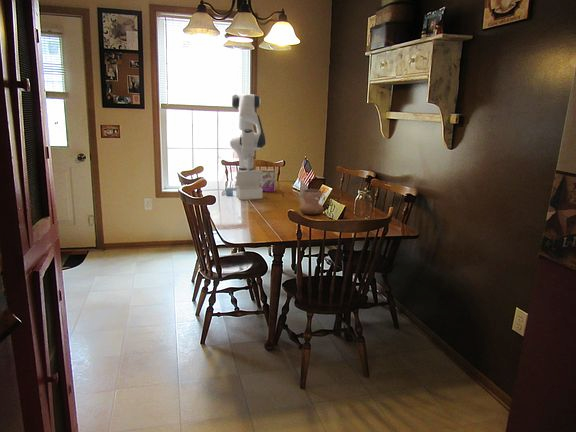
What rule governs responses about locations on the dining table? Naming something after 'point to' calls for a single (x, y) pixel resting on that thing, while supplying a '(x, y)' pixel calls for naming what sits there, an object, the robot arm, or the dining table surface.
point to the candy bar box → (267, 180)
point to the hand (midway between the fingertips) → (248, 173)
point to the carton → (249, 192)
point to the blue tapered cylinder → (229, 191)
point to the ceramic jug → (311, 202)
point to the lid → (248, 178)
